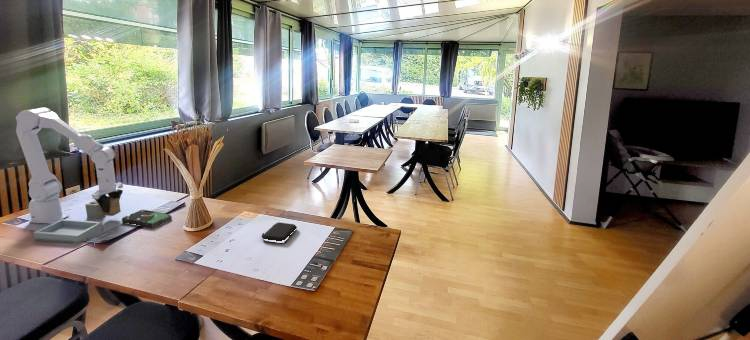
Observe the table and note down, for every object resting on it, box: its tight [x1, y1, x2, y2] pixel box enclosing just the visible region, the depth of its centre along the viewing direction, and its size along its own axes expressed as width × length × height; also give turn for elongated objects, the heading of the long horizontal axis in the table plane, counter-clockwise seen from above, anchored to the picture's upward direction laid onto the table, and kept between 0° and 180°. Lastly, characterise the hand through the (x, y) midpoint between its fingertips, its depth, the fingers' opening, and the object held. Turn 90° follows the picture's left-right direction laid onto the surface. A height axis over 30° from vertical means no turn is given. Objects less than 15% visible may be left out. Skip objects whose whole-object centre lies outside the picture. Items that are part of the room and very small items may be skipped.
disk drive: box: [121, 209, 173, 229], centre depth 157 cm, size 10×3×15 cm
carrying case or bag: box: [261, 222, 298, 241], centre depth 151 cm, size 11×3×15 cm
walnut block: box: [101, 197, 122, 217], centre depth 155 cm, size 4×4×6 cm
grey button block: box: [84, 200, 105, 220], centre depth 158 cm, size 4×4×6 cm
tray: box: [33, 218, 104, 245], centre depth 142 cm, size 16×12×3 cm
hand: (110, 209), depth 156 cm, fingers closed on walnut block, 4 cm apart
